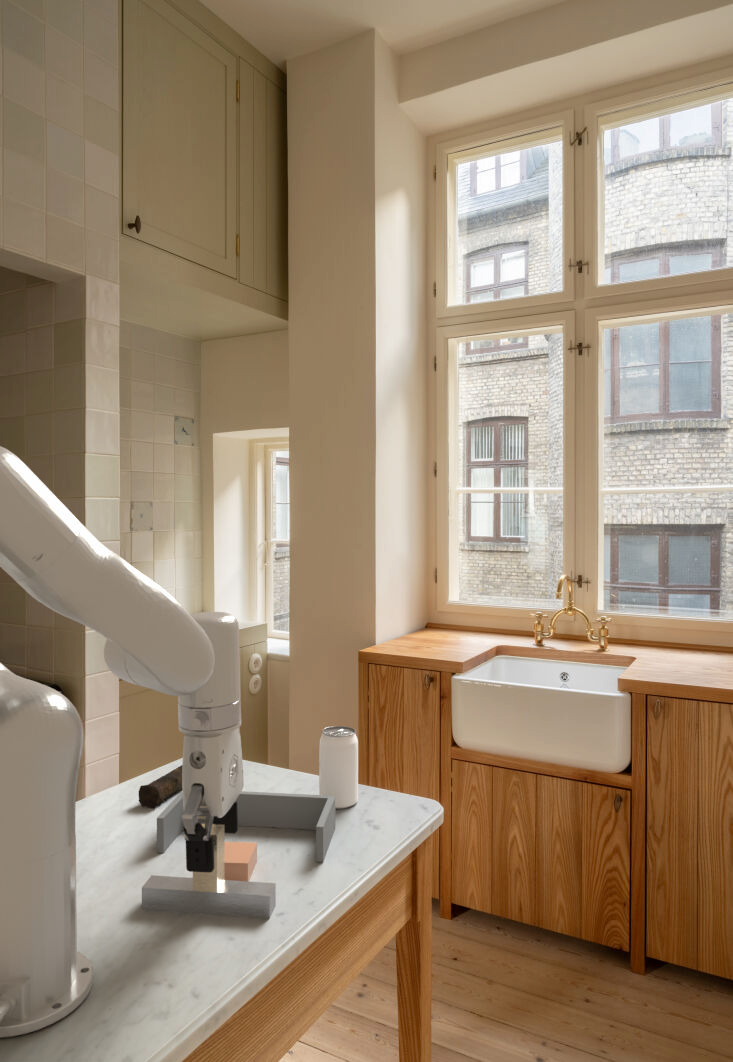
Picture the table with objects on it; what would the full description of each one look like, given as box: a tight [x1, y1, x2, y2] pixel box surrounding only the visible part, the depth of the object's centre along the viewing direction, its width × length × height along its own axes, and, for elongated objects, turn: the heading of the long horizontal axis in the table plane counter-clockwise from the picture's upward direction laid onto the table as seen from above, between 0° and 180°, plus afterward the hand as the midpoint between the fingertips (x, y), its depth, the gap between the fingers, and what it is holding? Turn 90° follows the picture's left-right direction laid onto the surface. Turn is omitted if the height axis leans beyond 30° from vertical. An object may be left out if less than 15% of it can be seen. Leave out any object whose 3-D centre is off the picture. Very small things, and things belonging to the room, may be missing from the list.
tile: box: [225, 841, 258, 882], centre depth 100 cm, size 6×6×3 cm
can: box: [318, 725, 359, 810], centre depth 123 cm, size 6×6×12 cm
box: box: [156, 790, 336, 863], centre depth 109 cm, size 11×24×5 cm, turn 84°
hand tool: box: [138, 765, 182, 809], centre depth 129 cm, size 19×4×5 cm, turn 157°
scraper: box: [141, 823, 277, 920], centre depth 91 cm, size 3×16×10 cm, turn 83°
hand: (213, 850), depth 91 cm, fingers open, 9 cm apart
